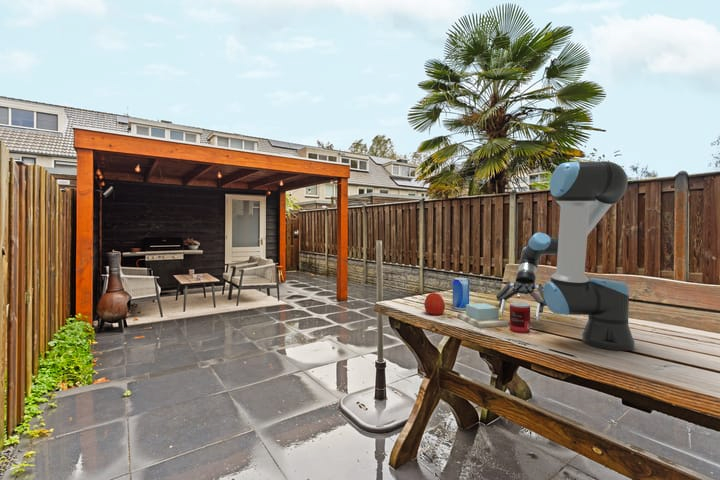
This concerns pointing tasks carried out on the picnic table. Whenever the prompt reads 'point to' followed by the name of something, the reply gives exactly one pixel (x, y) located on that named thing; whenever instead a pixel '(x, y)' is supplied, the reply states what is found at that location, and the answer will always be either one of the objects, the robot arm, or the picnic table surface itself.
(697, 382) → the picnic table surface
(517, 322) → the canned food
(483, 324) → the board
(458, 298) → the beer can
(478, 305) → the pedestal
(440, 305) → the apple
